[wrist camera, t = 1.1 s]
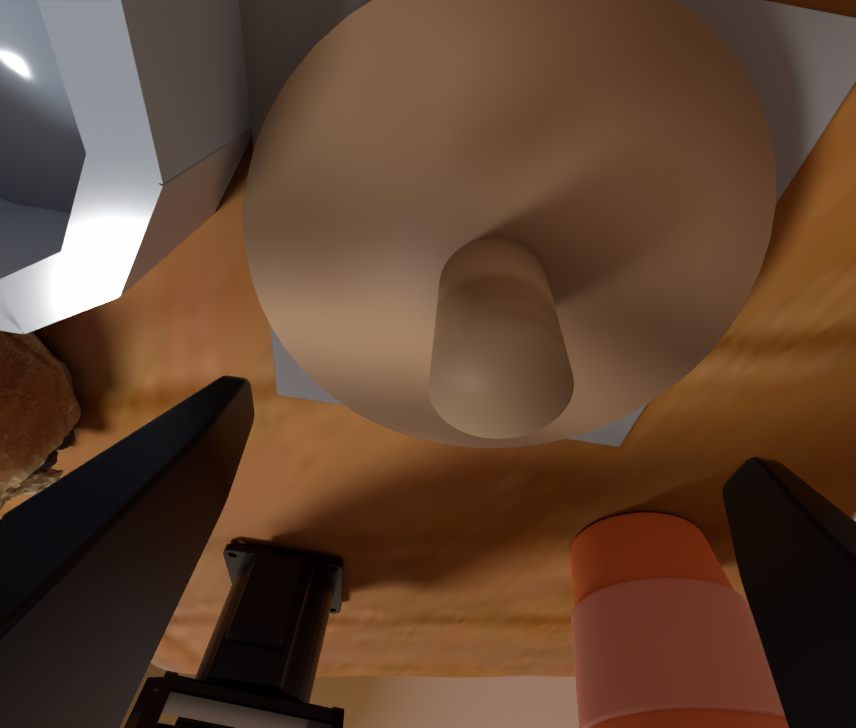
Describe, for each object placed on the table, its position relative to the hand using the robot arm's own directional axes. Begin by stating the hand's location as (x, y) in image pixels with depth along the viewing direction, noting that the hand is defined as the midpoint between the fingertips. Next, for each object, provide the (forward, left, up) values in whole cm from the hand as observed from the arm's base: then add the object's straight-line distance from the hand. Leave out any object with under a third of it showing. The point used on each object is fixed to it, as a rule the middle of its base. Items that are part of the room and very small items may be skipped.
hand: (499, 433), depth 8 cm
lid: (0, 0, -6) cm, 6 cm away
